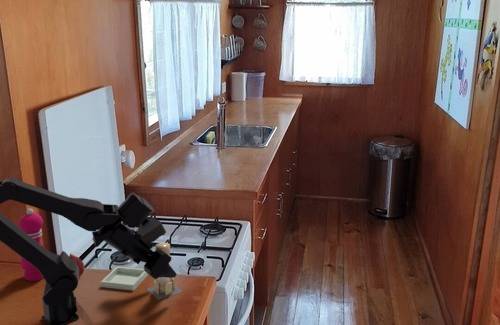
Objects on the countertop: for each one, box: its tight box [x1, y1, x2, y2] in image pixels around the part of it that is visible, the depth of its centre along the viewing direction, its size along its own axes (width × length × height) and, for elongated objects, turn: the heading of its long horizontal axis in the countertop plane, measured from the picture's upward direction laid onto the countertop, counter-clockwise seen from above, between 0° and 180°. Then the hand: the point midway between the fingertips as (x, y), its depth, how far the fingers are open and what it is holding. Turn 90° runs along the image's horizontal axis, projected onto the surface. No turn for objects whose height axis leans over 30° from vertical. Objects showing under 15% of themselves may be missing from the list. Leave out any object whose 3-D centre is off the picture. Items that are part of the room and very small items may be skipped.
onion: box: [68, 252, 85, 278], centre depth 135 cm, size 6×6×8 cm
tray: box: [100, 266, 149, 292], centre depth 133 cm, size 9×9×3 cm
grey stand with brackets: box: [146, 278, 184, 300], centre depth 127 cm, size 7×7×4 cm
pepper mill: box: [18, 208, 45, 282], centre depth 136 cm, size 7×7×20 cm
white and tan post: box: [155, 242, 171, 294], centre depth 126 cm, size 4×4×12 cm
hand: (166, 269), depth 127 cm, fingers open, 9 cm apart
